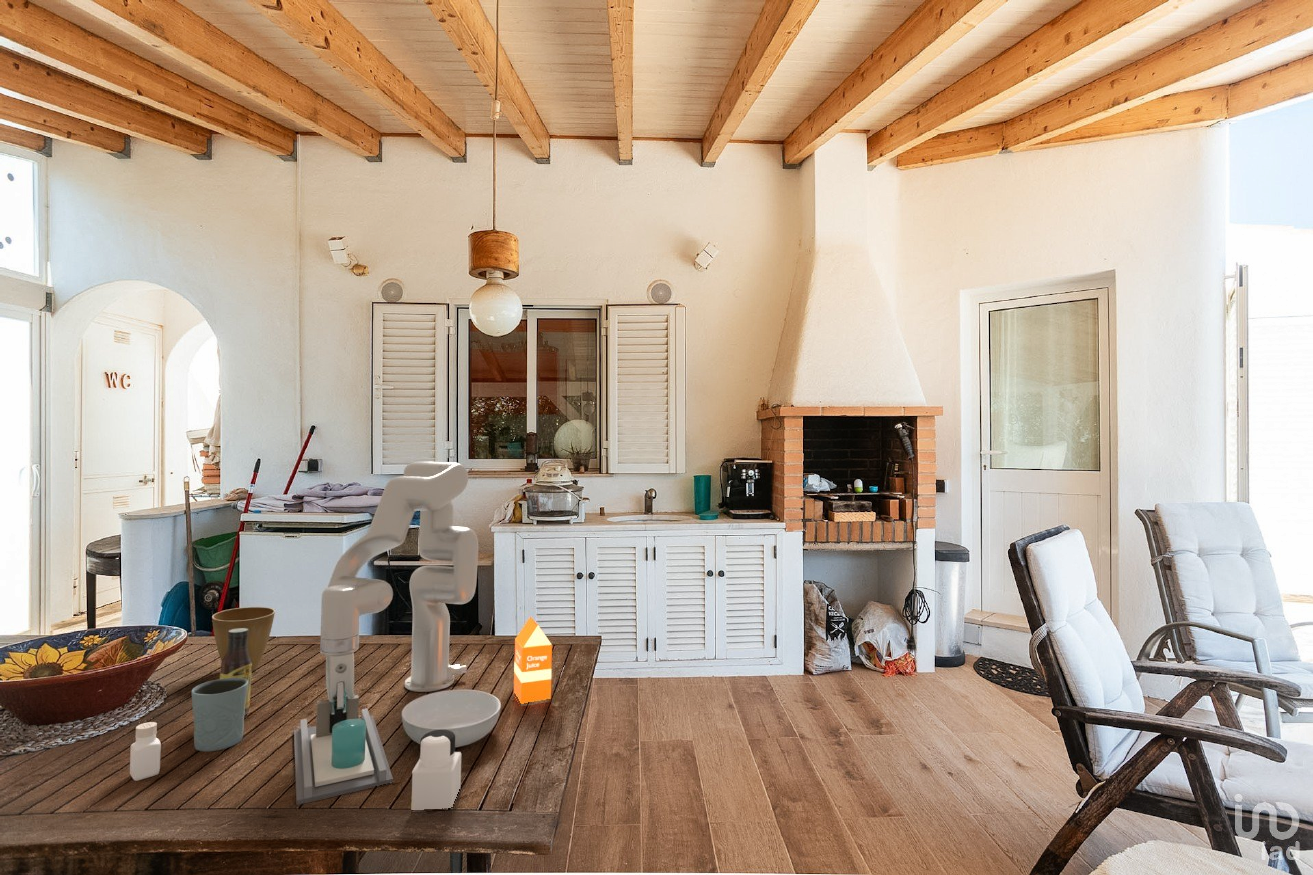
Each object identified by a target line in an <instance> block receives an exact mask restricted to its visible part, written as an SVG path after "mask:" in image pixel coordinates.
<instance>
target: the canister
mask: <svg viewBox="0 0 1313 875" xmlns="http://www.w3.org/2000/svg"><path fill="white" fill-rule="evenodd" d="M365 742H366V721H364V720H362V719H349V720H344V721H341V722H338V723H336V724H335V725H334V726H333V727H332V757H331V765H332V767H334V768H338V769H345V768H351V767H354V766H357V765H359V764H361V763H362V762H363V761H364V760H365Z"/></svg>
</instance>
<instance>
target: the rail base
mask: <svg viewBox="0 0 1313 875" xmlns="http://www.w3.org/2000/svg"><path fill="white" fill-rule="evenodd" d="M358 719H362V720H364V721H366V742H367V746H368V749H369V753H370V757H371V760H372V764H373V768H374V774H372V775H367V776H363V777H358V778H354V779H349V780H345V781H340V782H336V783H331V784H327V785H322V786H318V787H315V781H314V770H313V759H312V748H311V735H314V734H316V725H314V726H309V727H308V718H304V719H300V727H299V728H297V729H293V730H294V731H293V743H294V744H293V746H294V770H295V777H294V778H295V797H296V798H295V801H296V802H295V803H296V806H299V805H303V804H307V803H312V802H315V801H321V800H325V799H328V798H329V799H330V798H333V797H337V796H343V795H347V794H350V793H351V794H352V793H354V792H359V791H363V790H368V788H369V789H373V788H376V787H375V786H377V787H381V786H380V785H382V786H384V785H383V784H386V785H388V784H387V783H390V782H393V783H394V778H393V775H392V772H391V768H390V764H389V761H388V759H387V755H386V753H385V750H384V746H383V744H382V740H381V736H380V734H379V730H378V728H377V725H376V722H375V721H376V720H375V718H374V716H373V715H370V712H369V708H367V707H366V708H362V709H361V717H358ZM390 784H391V783H390ZM372 787H373V788H372Z"/></svg>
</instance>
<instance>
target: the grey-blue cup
mask: <svg viewBox="0 0 1313 875" xmlns="http://www.w3.org/2000/svg"><path fill="white" fill-rule="evenodd" d="M247 690H248V680H246V679H243V678H225V679H220V678H218V679H215V680H210V681H206V682H203V683H200V684H198V685H196V686H195V687H193V688H192V689H191V703H192V714H193V727H194V731H193V741H194V742H193V745H194V749H195V750H197V751H200V752H214V751H221V750H225V749H227V748H231V747H233V746H236V745H237V744H239V743H240V742H241V741H242V739H243V737H244V729H245V728H244V727H245V716H246V715H245V703H246V698H247Z"/></svg>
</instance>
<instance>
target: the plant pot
mask: <svg viewBox="0 0 1313 875" xmlns="http://www.w3.org/2000/svg"><path fill="white" fill-rule="evenodd" d="M275 615H276V609H274V608H271V607H267V606H266V607H263V606H247V607H246V606H245V607H238V608H237V607H236V608H230V609H225V610H221V611H219V612H216V613H214V614H212V616H211V622H212V630H213V634H214V635H213V636H214V641H215V645H216V650H217V652H218V655H219V659H220V661H221V662H222V659H223V658H224V656H225V655H226V653H227V652H228V643H229V638H228V631H229V630H232V629H238V628H247V629H248V630H249V631H248V636H247V649H248V653H249V656H250V660H251V662H252V672H254V671H256V670H257V669H258V667H259V665H260V662H261V660H262V658H263V656H264V652H265V650H266V648H267V644H268V642H269V639H270V635H271V632H272V628H273V624H274V623H273V622H274V619H275Z"/></svg>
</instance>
